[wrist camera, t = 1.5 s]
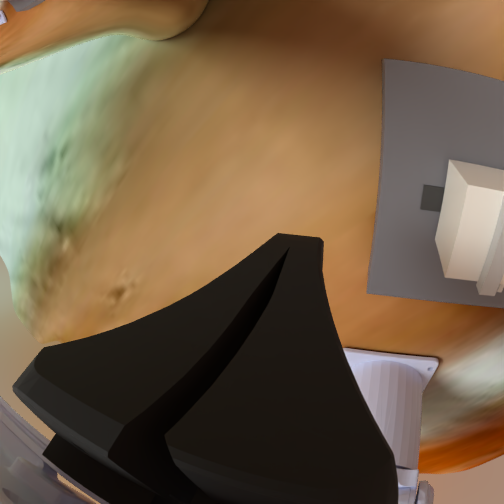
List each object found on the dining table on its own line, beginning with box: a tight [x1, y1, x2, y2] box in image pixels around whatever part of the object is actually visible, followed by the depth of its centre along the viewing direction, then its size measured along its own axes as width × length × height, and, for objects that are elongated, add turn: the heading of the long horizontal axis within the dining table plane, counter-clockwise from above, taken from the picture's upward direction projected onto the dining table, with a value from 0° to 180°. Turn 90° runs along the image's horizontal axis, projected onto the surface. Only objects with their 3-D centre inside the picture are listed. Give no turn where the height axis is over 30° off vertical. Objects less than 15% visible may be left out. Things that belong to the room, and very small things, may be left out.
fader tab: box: [435, 159, 504, 296], centre depth 10 cm, size 4×4×4 cm
